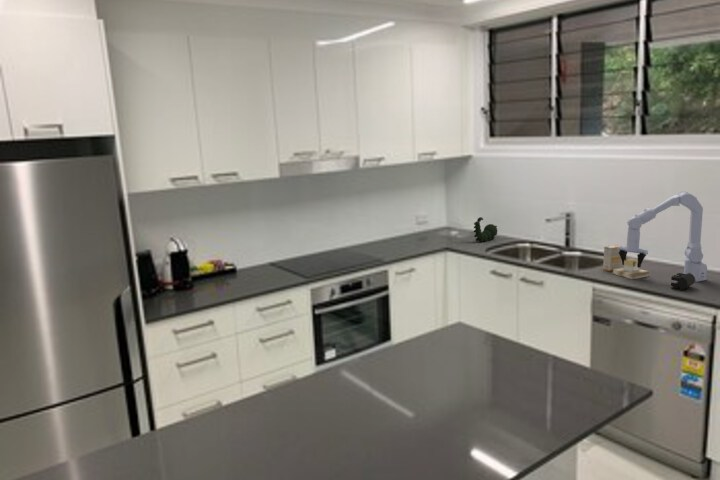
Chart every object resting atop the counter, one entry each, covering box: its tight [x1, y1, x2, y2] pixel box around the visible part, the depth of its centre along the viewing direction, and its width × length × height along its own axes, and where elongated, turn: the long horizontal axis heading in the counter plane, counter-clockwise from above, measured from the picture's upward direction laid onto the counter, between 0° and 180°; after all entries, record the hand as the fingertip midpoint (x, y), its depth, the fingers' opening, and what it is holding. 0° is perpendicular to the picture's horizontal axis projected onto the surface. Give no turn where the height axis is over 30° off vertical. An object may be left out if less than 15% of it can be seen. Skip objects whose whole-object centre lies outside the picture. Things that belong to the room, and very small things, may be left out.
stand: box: [612, 267, 650, 280], centre depth 278 cm, size 12×12×2 cm
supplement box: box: [602, 244, 623, 272], centre depth 289 cm, size 8×5×13 cm, turn 111°
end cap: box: [670, 272, 696, 291], centre depth 253 cm, size 10×7×7 cm
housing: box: [622, 257, 640, 272], centre depth 278 cm, size 8×5×6 cm, turn 129°
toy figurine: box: [473, 217, 498, 243], centre depth 375 cm, size 9×19×25 cm
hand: (631, 265), depth 278 cm, fingers open, 7 cm apart
